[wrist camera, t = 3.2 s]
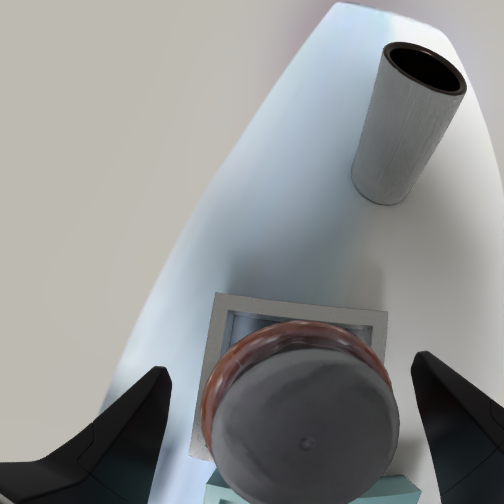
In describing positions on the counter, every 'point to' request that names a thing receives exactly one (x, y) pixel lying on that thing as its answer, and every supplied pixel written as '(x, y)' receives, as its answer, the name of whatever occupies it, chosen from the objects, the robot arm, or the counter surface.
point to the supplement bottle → (300, 415)
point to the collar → (280, 311)
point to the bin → (374, 500)
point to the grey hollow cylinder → (405, 120)
